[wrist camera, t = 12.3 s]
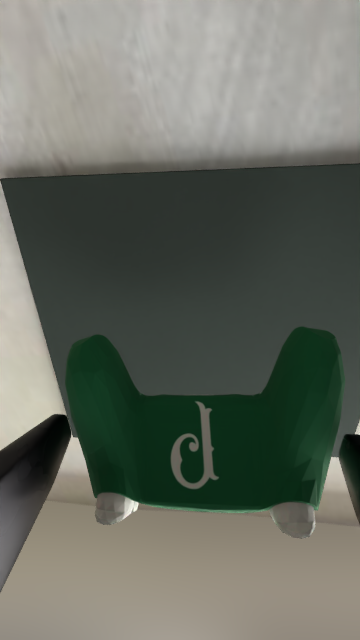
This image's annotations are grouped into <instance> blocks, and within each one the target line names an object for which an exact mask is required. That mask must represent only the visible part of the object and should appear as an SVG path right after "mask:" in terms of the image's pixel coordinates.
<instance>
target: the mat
mask: <svg viewBox="0 0 360 640" xmlns="http://www.w3.org/2000/svg"><path fill="white" fill-rule="evenodd" d="M0 181H1V184H2V188H3V191H4V195H5V198H6V202H7V206H8V209H9V213H10V216H11V220H12V223H13V227H14V230H15V234H16V237H17V241H18V244H19V248H20V251H21V255H22V258H23V262H24V265H25V269H26V272H27V276H28V280H29V283H30V287H31V290H32V294H33V297H34V301H35V304H36V308H37V311H38V315H39V318H40V322H41V325H42V329H43V332H44V336H45V339H46V343H47V346H48V350H49V354H50V357H51V361H52V364H53V368H54V371H55V375H56V378H57V382H58V385H59V389H60V392H61V396H62V399H63V403H64V406H65V410H66V413H67V417H68V420H69V424H70V427H71V431H72V435H73V437H78V436H77V433H76V430H75V427H74V423H73V420H72V417H71V413H70V407H69V402H68V397H67V391H66V386H65V376H66V362H67V357H68V354H69V352H70V349H71V346H72V345H73V344H74V343H75V342H77V341H78V340H81V339H84V338H87V337H90V336H94V335H98V334H100V335H103V336H105V337H106V338H108V339H109V340H110V342H111V343H112V344H113V346H114V347H115V348H116V349H117V351H118V352H119V354H120V356H121V358H122V360H123V362H124V364H125V367H126V369H127V371H128V373H129V375H130V377H131V379H132V381H133V383H134V385H135V387H136V388H137V390H138V391H139V392H140V393H142V394H144V395H148V396H155V395H161V394H167V395H228V394H241V395H255V394H258V393H260V392H262V391H263V390H264V388H265V387H266V385H267V383H268V381H269V378H270V376H271V373H272V371H273V368H274V366H275V363H276V361H277V358H278V356H279V353H280V351H281V348H282V346H283V344H284V343H285V341H286V340H287V338H288V337H289V335H290V333H291V332H292V331H293V330H294V329H295V328H297V327H301V326H304V327H308V328H314V329H319V330H327V331H328V332H330V333H332V334H333V335H334V336H335V337H336V339H337V342H338V345H339V348H340V351H341V355H342V361H343V368H344V374H345V387H344V395H343V403H342V411H341V419H340V424H339V429H338V433H337V437H336V441H335V444H334V448H333V452H332V456H331V457H339V455H338V454H339V449H340V446H341V443H342V440H343V437H344V435H346V434H355V431H356V429H357V426H358V423H359V420H360V163H359V164H335V165H311V166H287V167H263V168H240V169H216V170H192V171H168V172H145V173H121V174H97V175H73V176H50V177H26V178H2V179H0Z"/></svg>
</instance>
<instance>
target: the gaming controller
mask: <svg viewBox="0 0 360 640" xmlns="http://www.w3.org/2000/svg"><path fill="white" fill-rule="evenodd" d="M65 386H66V391H67V397H68V402H69V407H70V413H71V417H72V420H73V423H74V427H75V430H76V433H77V436H78V439H79V442H80V445H81V448H82V451H83V454H84V457H85V460H86V464H87V469H88V473H89V477H90V481H91V485H92V489H93V493H94V497H95V498H97V502H96V511H95V517H96V520H97V522H99V523H101V524H103V525H111V524H114V523H117V522H119V521H121V520H123V519H124V518H125V517H127V516H128V515H130V514H131V513H132V512H134V511H136V510H137V507H138V504H139V503H142V504H145V505H149V506H154V507H158V508H167V509H177V510H187V511H199V512H222V513H251V512H261V511H266V510H270V514H271V518H272V519H273V521H275V523H276V525H277V526H278V528H279V529H280V530H281V531H282V532H283V533H285V534H287V535H289V536H291V537H294V538H301V539H302V538H306V537H309V536H310V535H311V534H312V532H313V531H314V529H315V525H316V524H315V515H314V510H318V508H319V504H320V500H321V496H322V492H323V488H324V484H325V480H326V476H327V471H328V467H329V463H330V459H331V456H332V452H333V448H334V444H335V441H336V437H337V433H338V429H339V424H340V419H341V411H342V403H343V395H344V387H345V374H344V368H343V361H342V355H341V351H340V348H339V345H338V342H337V339H336V337H335V336H334V335H333V334H332V333H330V332H328V331H327V330H319V329H314V328H308V327H304V326H301V327H297V328H295V329H294V330H293V331H292V332H291V333H290V335H289V337H288V338H287V340H286V341H285V343H284V344H283V346H282V348H281V351H280V353H279V356H278V358H277V361H276V363H275V366H274V368H273V371H272V373H271V376H270V378H269V381H268V383H267V385H266V387H265V388H264V390H263V391H262V392H260V393H258V394H255V395H241V394H228V395H167V394H161V395H155V396H148V395H144V394H142V393H140V392H139V391H138V390H137V388H136V387H135V385H134V383H133V381H132V379H131V377H130V375H129V373H128V371H127V369H126V367H125V364H124V362H123V360H122V358H121V356H120V354H119V352H118V351H117V349H116V348H115V347H114V346H113V344H112V343H111V342H110V340H109V339H108V338H106V337H105V336H103V335H100V334H98V335H94V336H90V337H87V338H84V339H81V340H78V341H77V342H75V343H74V344H73V345H72V346H71V349H70V352H69V354H68V357H67V362H66V376H65Z"/></svg>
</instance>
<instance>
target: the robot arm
mask: <svg viewBox="0 0 360 640" xmlns="http://www.w3.org/2000/svg"><path fill="white" fill-rule="evenodd" d="M70 438H71V429H70V425H69V422H68V418H67V416H66V415H61V414H54V415H52V416H50V417H49V418H47V419H46V420H45V421H43V422H42V423H40V424H39V425H37V426H36V427H34V428H33V429H31V430H30V431H28V432H27V433H26V434H24V435H23V436H21V437H20V438H18V439H17V440H15V441H14V442H12V443H11V444H9V445H8V446H7V447H5V448H4V449H2V450H1V451H0V592H1V590H2V588H3V586H4V584H5V582H6V580H7V578H8V576H9V574H10V572H11V570H12V567H13V566H14V564H15V562H16V559H17V557H18V555H19V553H20V551H21V549H22V547H23V545H24V542H25V541H26V539H27V537H28V535H29V533H30V531H31V529H32V527H33V524H34V523H35V520H36V518H37V516H38V514H39V512H40V510H41V508H42V506H43V504H44V502H45V500H46V498H47V496H48V494H49V492H50V490H51V488H52V485H53V483H54V481H55V478H56V476H57V473H58V470H59V468H60V465H61V462H62V460H63V457H64V454H65V452H66V449H67V447H68V444H69V441H70ZM338 455H339V461H340V464H341V468H342V471H343V474H344V477H345V481H346V484H347V487H348V491H349V494H350V497H351V501H352V504H353V507H354V510H355V513H356V516H357V518H358V521H359V524H360V435H357V434H346V435H344V437H343V440H342V443H341V446H340V449H339V454H338Z"/></svg>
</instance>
